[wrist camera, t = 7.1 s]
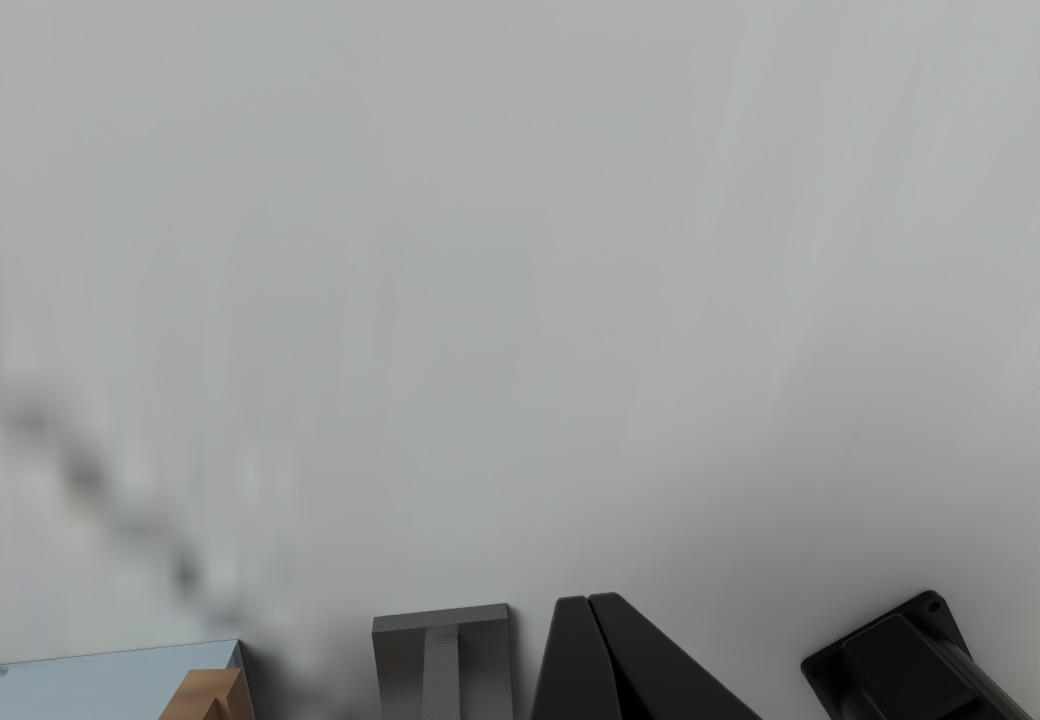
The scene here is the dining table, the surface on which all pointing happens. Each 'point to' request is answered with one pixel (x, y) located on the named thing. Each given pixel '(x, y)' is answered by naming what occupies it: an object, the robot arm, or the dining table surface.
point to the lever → (210, 696)
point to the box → (108, 682)
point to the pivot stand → (444, 664)
